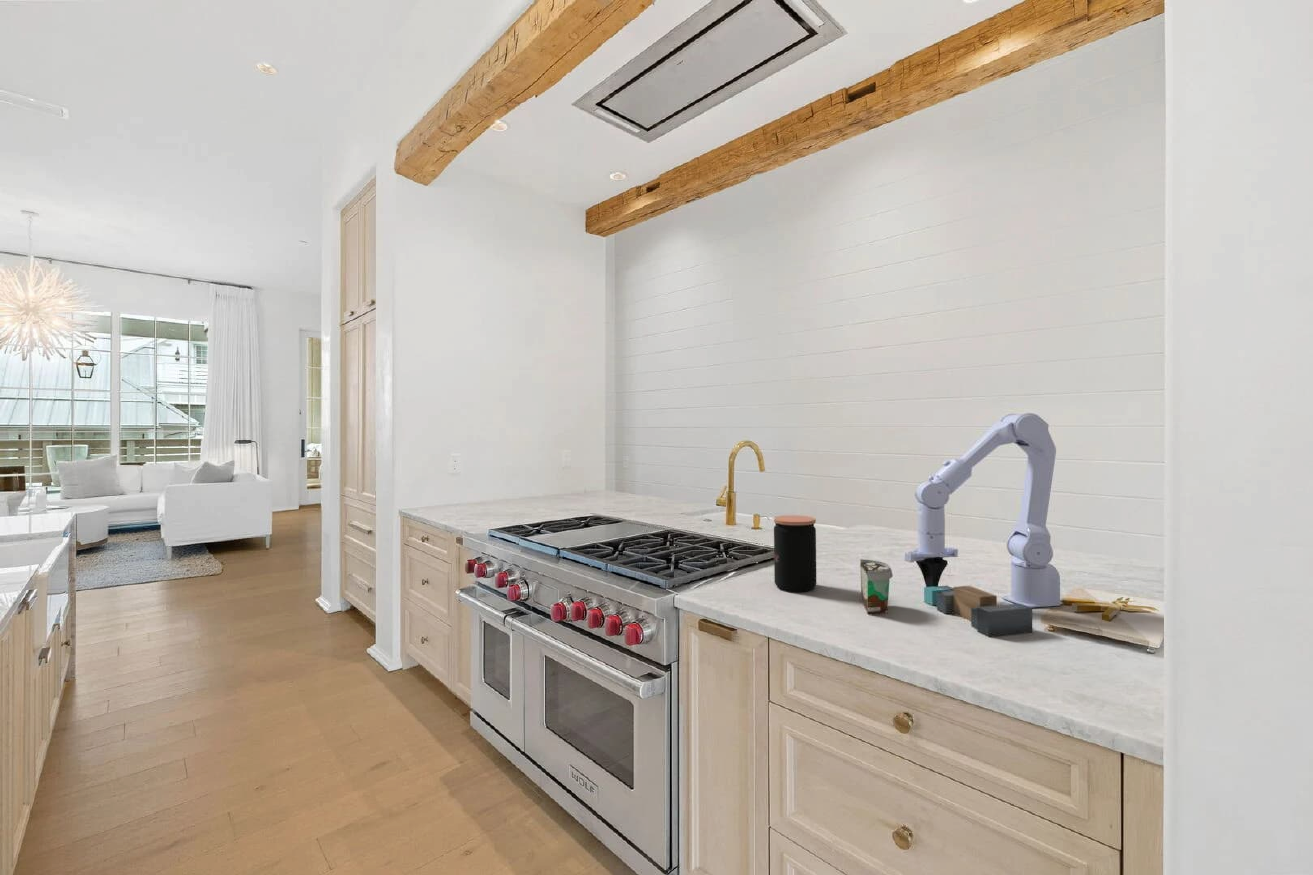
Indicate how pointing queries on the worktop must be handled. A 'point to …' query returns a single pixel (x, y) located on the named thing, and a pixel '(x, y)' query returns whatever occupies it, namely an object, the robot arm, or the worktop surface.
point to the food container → (875, 586)
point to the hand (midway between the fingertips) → (931, 589)
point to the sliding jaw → (940, 598)
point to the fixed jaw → (1002, 619)
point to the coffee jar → (795, 553)
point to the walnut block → (971, 600)
